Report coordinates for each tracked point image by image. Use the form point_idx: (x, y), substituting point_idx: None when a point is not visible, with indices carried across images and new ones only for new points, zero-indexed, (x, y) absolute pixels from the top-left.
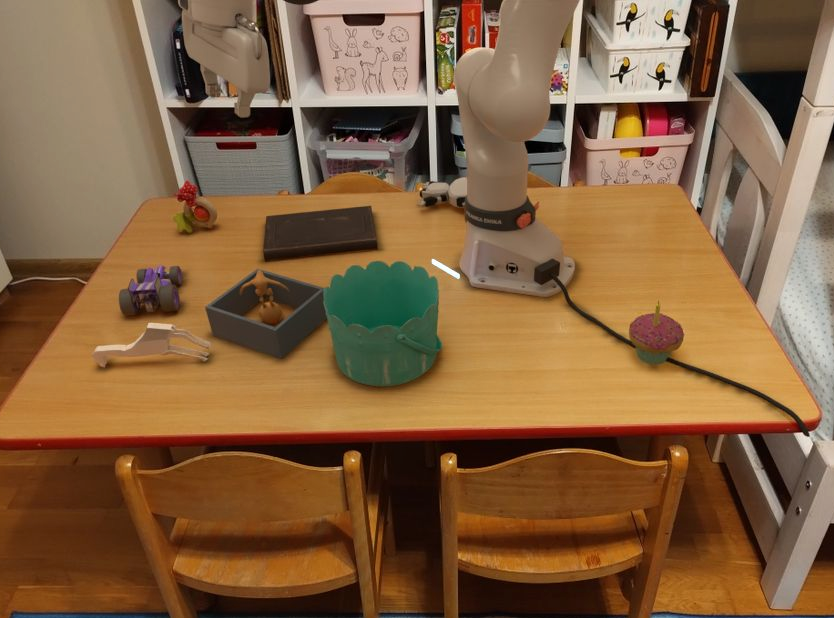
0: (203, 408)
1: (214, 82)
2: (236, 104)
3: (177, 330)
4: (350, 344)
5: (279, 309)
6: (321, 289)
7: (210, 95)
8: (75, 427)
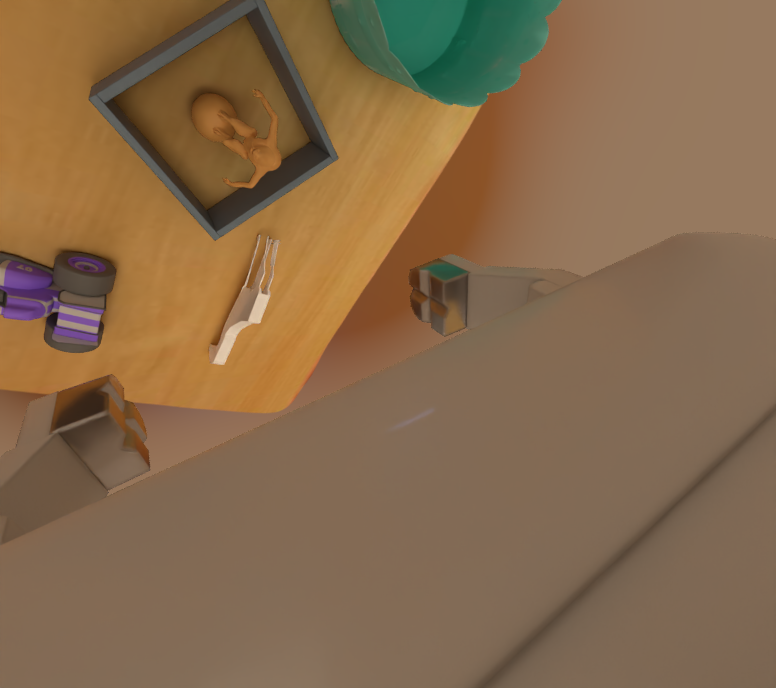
0: (349, 257)
1: (71, 460)
2: (462, 328)
3: (260, 284)
4: (467, 85)
5: (227, 103)
6: (260, 4)
7: (144, 428)
8: (307, 360)
